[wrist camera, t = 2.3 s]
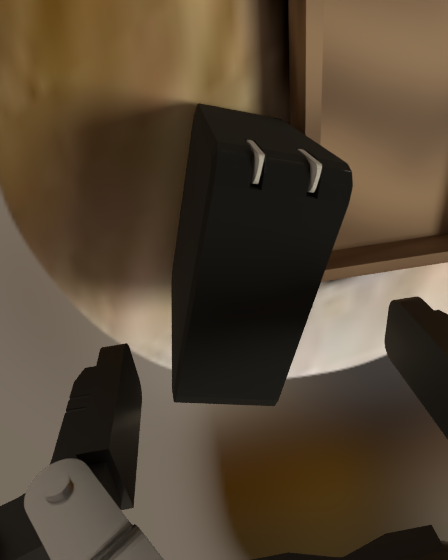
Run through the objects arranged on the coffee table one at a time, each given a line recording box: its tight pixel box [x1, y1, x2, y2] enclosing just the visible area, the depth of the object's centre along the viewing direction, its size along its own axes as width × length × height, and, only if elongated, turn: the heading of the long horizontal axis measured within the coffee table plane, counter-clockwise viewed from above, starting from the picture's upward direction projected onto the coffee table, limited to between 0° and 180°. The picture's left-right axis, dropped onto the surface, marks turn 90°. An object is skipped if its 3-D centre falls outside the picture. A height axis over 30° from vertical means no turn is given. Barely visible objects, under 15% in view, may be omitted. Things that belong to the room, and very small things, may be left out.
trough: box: [288, 0, 448, 282], centre depth 19 cm, size 16×10×3 cm, turn 6°
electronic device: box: [172, 104, 353, 406], centre depth 17 cm, size 4×10×10 cm, turn 169°
